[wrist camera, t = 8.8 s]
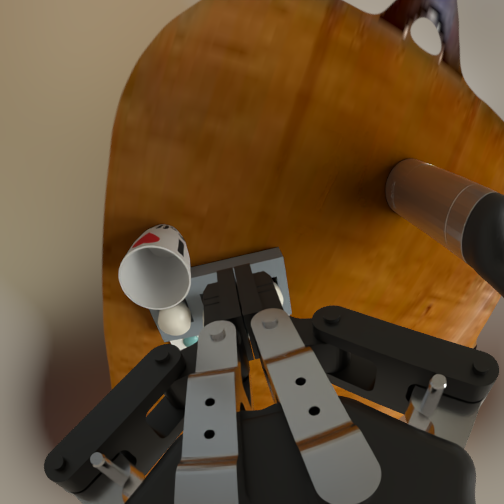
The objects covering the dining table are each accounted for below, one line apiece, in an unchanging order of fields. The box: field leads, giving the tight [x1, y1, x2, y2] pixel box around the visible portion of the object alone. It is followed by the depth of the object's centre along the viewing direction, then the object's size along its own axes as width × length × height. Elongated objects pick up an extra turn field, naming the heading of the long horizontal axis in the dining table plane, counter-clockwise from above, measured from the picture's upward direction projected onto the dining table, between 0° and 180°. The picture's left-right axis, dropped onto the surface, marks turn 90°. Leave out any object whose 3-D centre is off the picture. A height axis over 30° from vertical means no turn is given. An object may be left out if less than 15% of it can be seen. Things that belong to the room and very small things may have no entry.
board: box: [149, 247, 292, 342], centre depth 44 cm, size 20×10×3 cm, turn 101°
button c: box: [158, 298, 191, 336], centre depth 43 cm, size 5×5×5 cm
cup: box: [119, 224, 191, 310], centre depth 37 cm, size 8×8×10 cm
